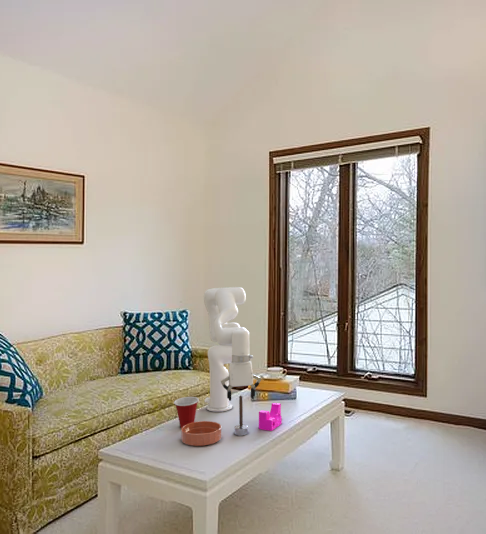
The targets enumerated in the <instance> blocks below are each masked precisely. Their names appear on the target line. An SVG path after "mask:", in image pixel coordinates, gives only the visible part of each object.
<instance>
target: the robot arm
mask: <svg viewBox="0 0 486 534" xmlns="http://www.w3.org/2000/svg"><path fill="white" fill-rule="evenodd" d="M246 301H247V295H246V291H245V290H244V288H243V287H240V286H231V287H229V286H227V287H226V286H225V287H213V288H208V289H205V291H204V293H203V303H204V306H205V309H206V311H207V315H208V329H209V338H210V341H211V342H212V343H217V344H215V345H211V346H210V347H209V348H208V349H207V358H208V360H207V361H208V366H209V397H205V399H204V403H205V404H207V405H206V410H207V411H209V412H213V413H214V412H215V413H220V412H227V411H231V409H233V404H232V403H230V402H231V401H232V389H233V388H234V387H248V386H250V398H251V399H252V400H255V397H256V389H257V388H258V387H259V385H260V383H261V381H262V378H261V377H260V376H258V375H255V374H254V373H253V371H254V370H253V363H252V359H254V355H251V353H250V352H251V351H250V350H251V349H250V345H251V344H250V332H249V330H247V328H246V327H243V326H240V324H239V323H238V322H231V321H233V320H234V319H235V318H237V316H238V315H239V309H238V305H240V306H241V305H244V304H245V303H246ZM228 364H229V365H228ZM225 365H228V366H229V367H228V369H227V367H226V366H225ZM254 380H256V381H255V383H254Z"/></svg>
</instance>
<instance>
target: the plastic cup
mask: <svg viewBox="0 0 486 534" xmlns="http://www.w3.org/2000/svg"><path fill="white" fill-rule="evenodd" d="M199 400H200V399H199V397H197V396H184V397H180V398H178V399H175V400H174V401H173V404H174V405H175V409H176V412H177V416H178V417H177V418H178V421H179V427H180V429H181V428H182V427H183V426H184V425H186V424H189V423H192V422H195V421H196V413H197V408H198V403H199Z"/></svg>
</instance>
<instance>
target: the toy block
mask: <svg viewBox="0 0 486 534" xmlns="http://www.w3.org/2000/svg"><path fill="white" fill-rule="evenodd" d="M270 405H271V406H270V410H264V409H263V410H262V409H261V410H259V411H258V429H259V430H262V431H270V432H272V431H274V430H275V429H277V428H278V427H279V426H281V425H282V423H283V421H282V403H278V402H272V403H271V404H270Z"/></svg>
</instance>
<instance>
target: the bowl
mask: <svg viewBox="0 0 486 534" xmlns="http://www.w3.org/2000/svg"><path fill="white" fill-rule="evenodd" d="M221 439H222V424H220V423H219V422H216V421H211V420H198V421H194V422H192V423H189V424H186V425H184V426H183V427H182V428H181V427H180V441H181V442H182V443H183V444H186V445H187V446H192V447H193V446H194V447H203V446H210V445H213V444H215V443H217V442H219V441H220V440H221Z"/></svg>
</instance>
